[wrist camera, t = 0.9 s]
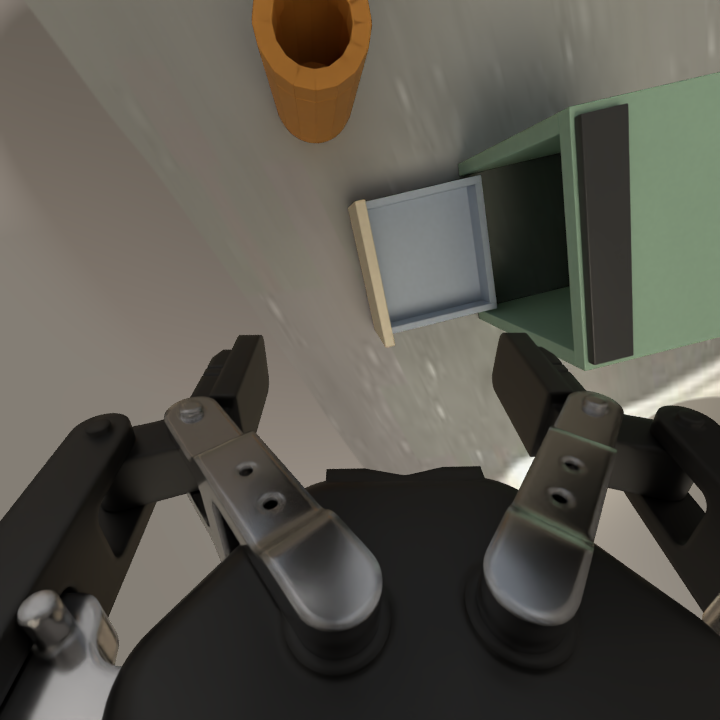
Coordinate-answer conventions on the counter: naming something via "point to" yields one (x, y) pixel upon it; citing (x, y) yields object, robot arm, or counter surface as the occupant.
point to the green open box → (627, 224)
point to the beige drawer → (424, 256)
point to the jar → (313, 60)
